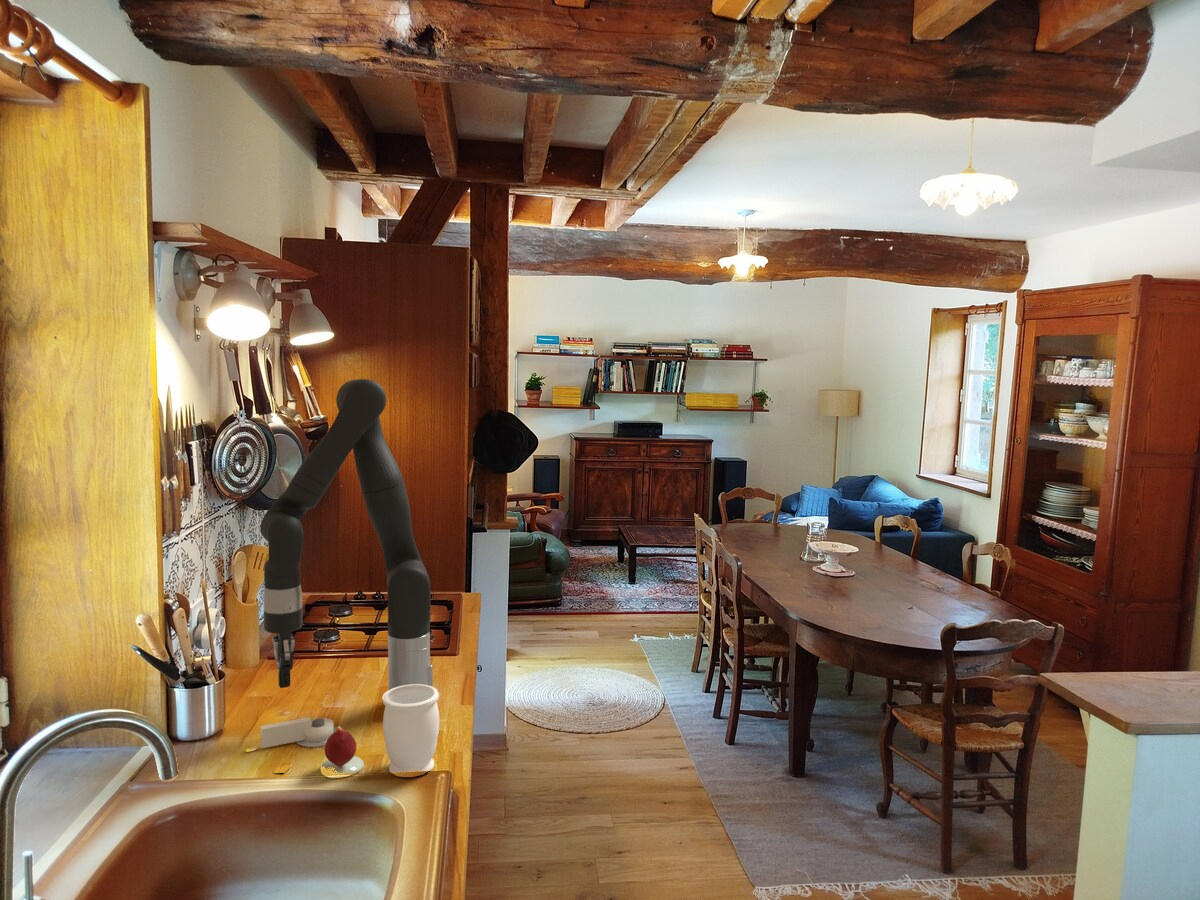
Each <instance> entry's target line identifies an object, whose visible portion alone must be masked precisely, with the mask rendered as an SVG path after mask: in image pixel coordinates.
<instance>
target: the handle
mask: <svg viewBox="0 0 1200 900" xmlns="http://www.w3.org/2000/svg"><path fill="white" fill-rule="evenodd" d="M334 727H335V725H334V721H333V720H332V719H330V718H327V717H324V718H323V717H321V718H320V717H319V718H314V719H311V717H310V716H307V717H304V718H303V717H302V718H297V719H292V720H287V721H282V722H277V723H271V724H266V725H260V743H261V744H260V745H261V749H266V748H272V747H276V746H279V745H280V746H282V745H286V744H292V743H296V742H297V741H302V740H305V741H307V742H322V741H326V740H328V738H329V737H330V736H331V735H332V734H333V733H334Z"/></svg>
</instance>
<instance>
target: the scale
mask: <svg viewBox="0 0 1200 900" xmlns="http://www.w3.org/2000/svg"><path fill="white" fill-rule="evenodd" d="M336 730H337V726H336V727H335V726H334V732H336ZM326 742H327V740H326V741H322V742H307V741H305V740H302V741H297V742H295V743H296V744H297V745H298V746H300V747H303V748H308V747H310V748H309V749H312V748H311V747H313V748H314V747H315V748H322V747H325V744H326ZM251 748H252V749H257V747H251ZM315 748H314V749H315ZM246 749H247V748H246ZM246 749H244V751H245V750H246ZM252 749H251V750H252Z"/></svg>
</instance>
